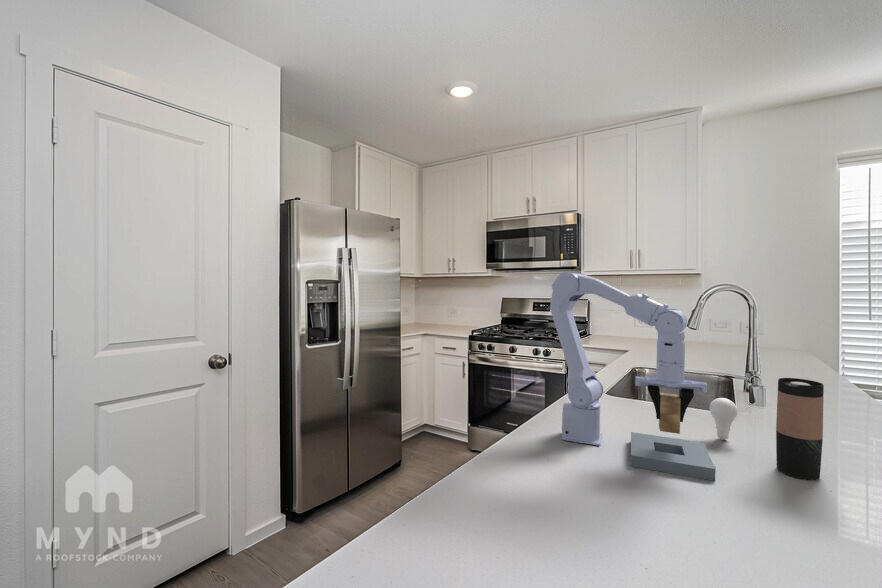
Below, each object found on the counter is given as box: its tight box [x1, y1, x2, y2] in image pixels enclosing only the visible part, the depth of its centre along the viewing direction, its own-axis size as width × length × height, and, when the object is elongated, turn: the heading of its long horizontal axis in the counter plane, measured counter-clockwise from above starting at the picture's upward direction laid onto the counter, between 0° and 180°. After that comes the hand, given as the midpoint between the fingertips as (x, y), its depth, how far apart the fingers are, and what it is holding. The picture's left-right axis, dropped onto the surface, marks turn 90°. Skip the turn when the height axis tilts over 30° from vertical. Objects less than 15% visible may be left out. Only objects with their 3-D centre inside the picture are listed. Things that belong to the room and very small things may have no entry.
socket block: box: [630, 431, 717, 482], centre depth 97 cm, size 16×16×2 cm
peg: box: [658, 392, 681, 434], centre depth 97 cm, size 4×4×8 cm
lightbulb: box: [709, 397, 739, 441], centre depth 109 cm, size 6×6×11 cm
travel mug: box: [775, 377, 825, 481], centre depth 90 cm, size 8×8×20 cm
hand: (669, 419), depth 97 cm, fingers closed on peg, 4 cm apart
